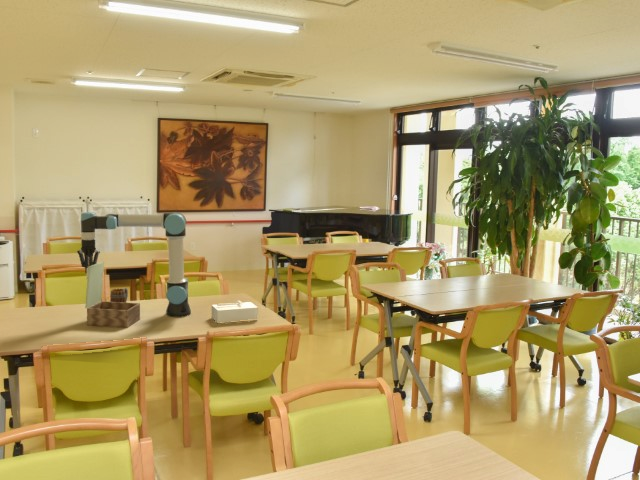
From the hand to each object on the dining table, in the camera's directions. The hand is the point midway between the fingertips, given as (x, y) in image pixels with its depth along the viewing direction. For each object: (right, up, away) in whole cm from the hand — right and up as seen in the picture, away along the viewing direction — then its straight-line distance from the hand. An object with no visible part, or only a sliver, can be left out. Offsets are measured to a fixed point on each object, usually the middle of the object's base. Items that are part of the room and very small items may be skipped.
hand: (89, 279), depth 343 cm
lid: (+4, -3, 0) cm, 5 cm away
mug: (+10, -23, +24) cm, 35 cm away
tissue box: (+83, -26, +17) cm, 88 cm away
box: (+14, -26, +2) cm, 29 cm away
